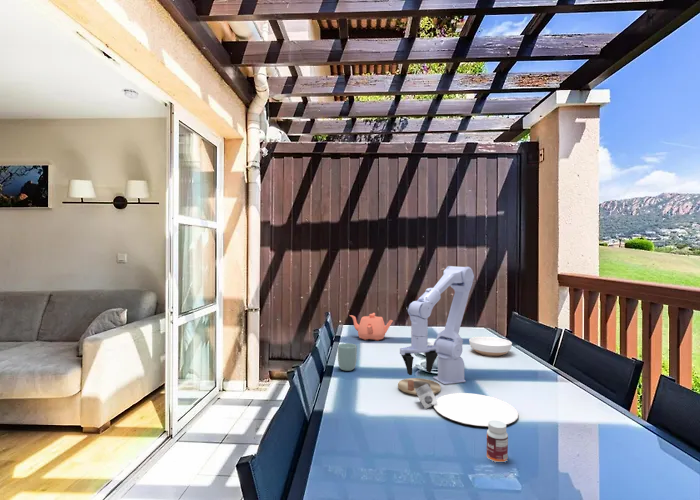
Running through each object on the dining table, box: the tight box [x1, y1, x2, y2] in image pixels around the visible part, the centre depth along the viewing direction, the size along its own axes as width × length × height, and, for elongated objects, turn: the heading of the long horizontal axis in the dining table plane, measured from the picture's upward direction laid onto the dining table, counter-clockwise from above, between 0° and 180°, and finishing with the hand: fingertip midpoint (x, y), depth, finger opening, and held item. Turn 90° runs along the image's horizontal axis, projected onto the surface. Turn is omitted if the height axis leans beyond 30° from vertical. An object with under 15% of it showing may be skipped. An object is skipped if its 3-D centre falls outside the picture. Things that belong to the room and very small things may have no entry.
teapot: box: [349, 312, 394, 342], centre depth 219 cm, size 18×18×14 cm
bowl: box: [468, 336, 513, 357], centre depth 190 cm, size 20×20×6 cm
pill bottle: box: [486, 420, 509, 463], centre depth 94 cm, size 5×5×8 cm
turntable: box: [397, 377, 442, 396], centre depth 140 cm, size 15×15×4 cm
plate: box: [433, 392, 519, 428], centre depth 121 cm, size 25×25×2 cm
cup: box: [337, 342, 358, 372], centre depth 163 cm, size 8×8×10 cm
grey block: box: [415, 384, 438, 410], centre depth 126 cm, size 4×4×6 cm
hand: (419, 373), depth 140 cm, fingers open, 7 cm apart
